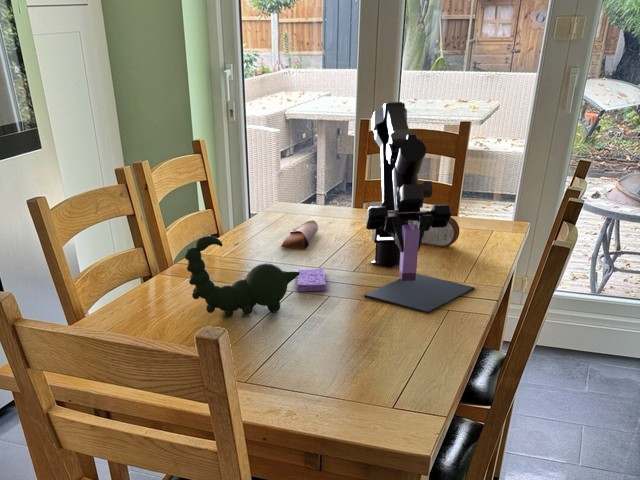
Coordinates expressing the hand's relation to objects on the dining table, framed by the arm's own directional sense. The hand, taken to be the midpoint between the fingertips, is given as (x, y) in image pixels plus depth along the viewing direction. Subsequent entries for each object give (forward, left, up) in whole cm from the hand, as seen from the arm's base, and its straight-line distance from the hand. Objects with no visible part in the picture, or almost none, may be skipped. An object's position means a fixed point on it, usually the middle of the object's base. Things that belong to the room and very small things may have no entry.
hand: (410, 251), depth 162 cm
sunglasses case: (-54, +24, -13) cm, 61 cm away
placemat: (-2, +9, -12) cm, 15 cm away
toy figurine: (-26, -27, -13) cm, 40 cm away
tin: (-21, +45, -13) cm, 51 cm away
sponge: (-27, -2, -13) cm, 30 cm away
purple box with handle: (-1, +1, -7) cm, 7 cm away
